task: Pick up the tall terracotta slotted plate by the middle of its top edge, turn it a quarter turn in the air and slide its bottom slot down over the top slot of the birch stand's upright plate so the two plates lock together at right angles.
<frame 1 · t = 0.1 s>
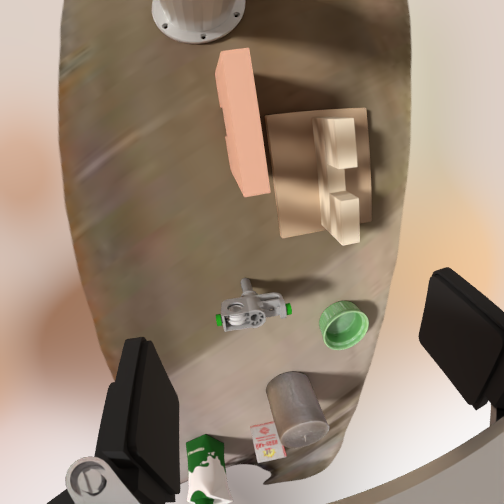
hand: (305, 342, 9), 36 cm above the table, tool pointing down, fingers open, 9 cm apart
slotted plate: (231, 120, 40), on the table
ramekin: (337, 316, 57), on the table
slotted stand: (321, 169, 45), on the table
white cardboard box: (264, 426, 69), on the table
mechanical component: (245, 281, 51), on the table
pillar candle: (288, 385, 63), on the table
milk carton: (205, 442, 69), on the table
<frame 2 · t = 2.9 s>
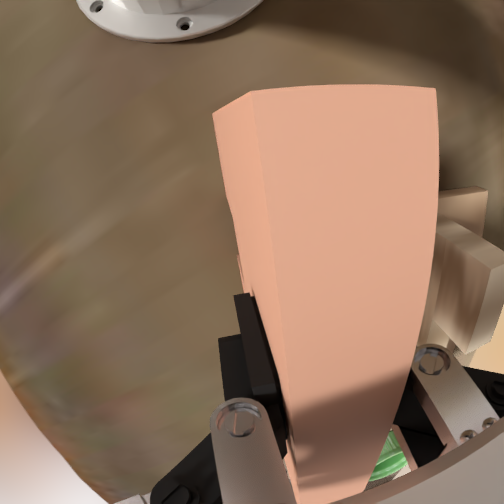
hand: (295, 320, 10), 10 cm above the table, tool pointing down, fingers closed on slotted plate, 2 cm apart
slotted plate: (251, 222, 20), on the table, touching gripper
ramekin: (379, 443, 37), on the table
slotted stand: (404, 297, 24), on the table
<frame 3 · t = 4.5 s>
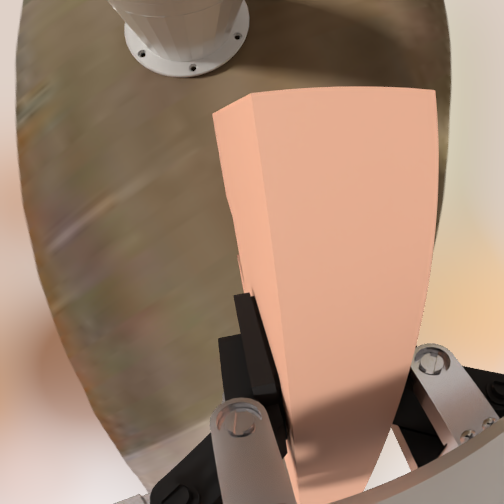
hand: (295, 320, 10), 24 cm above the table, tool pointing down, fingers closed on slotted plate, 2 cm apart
slotted plate: (251, 222, 20), point 14 cm above the table, touching gripper
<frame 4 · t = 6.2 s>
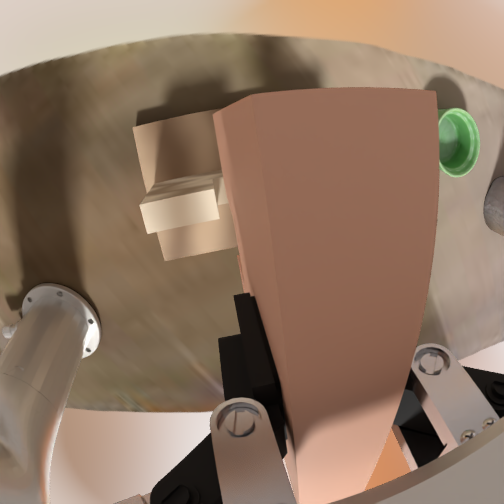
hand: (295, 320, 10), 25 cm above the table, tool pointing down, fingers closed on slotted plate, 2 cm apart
slotted plate: (251, 222, 20), point 15 cm above the table, touching gripper
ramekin: (437, 137, 35), on the table
slotted stand: (231, 176, 33), on the table
pillar candle: (498, 201, 40), on the table
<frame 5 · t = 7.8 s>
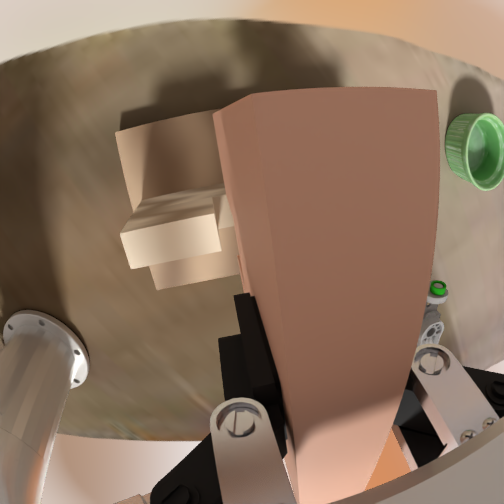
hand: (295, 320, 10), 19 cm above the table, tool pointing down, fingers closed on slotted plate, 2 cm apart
slotted plate: (251, 222, 20), point 9 cm above the table, touching gripper
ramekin: (464, 145, 29), on the table
slotted stand: (234, 191, 28), on the table
mechanical component: (385, 284, 35), on the table
when the fingers open (12 cm above the table, at t = 9.4 s): slotted plate stays where it is, resting on slotted stand.
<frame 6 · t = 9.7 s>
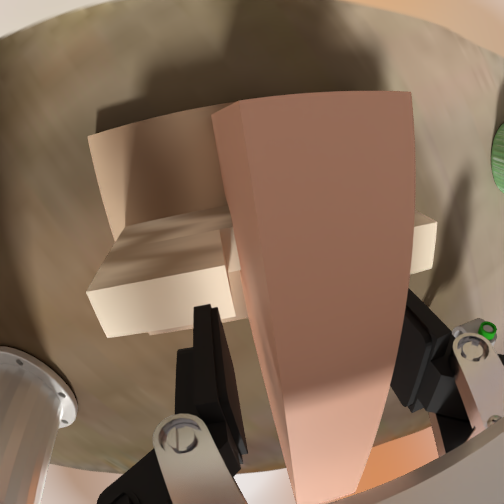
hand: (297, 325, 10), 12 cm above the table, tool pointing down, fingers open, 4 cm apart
slotted plate: (249, 220, 20), point 1 cm above the table, touching slotted stand
slotted stand: (247, 212, 21), on the table
mechanical component: (418, 316, 29), on the table
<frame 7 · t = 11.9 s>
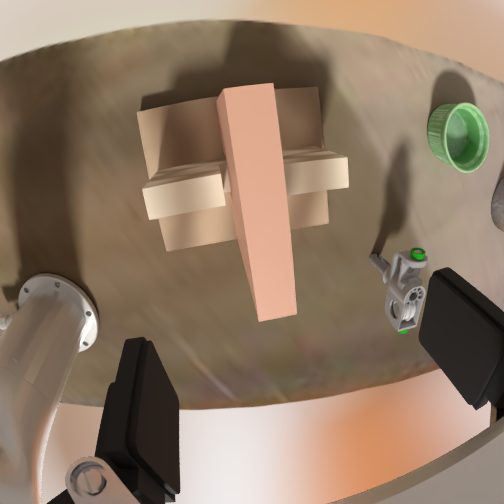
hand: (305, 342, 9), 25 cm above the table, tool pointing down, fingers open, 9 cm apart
slotted plate: (238, 168, 30), point 1 cm above the table, touching slotted stand
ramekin: (446, 132, 33), on the table
slotted stand: (237, 165, 32), on the table
mechanical component: (373, 257, 39), on the table
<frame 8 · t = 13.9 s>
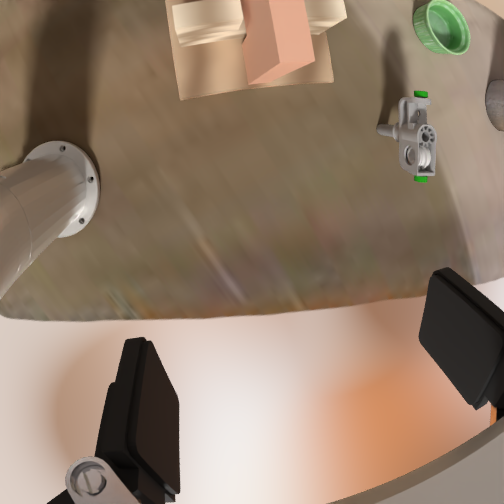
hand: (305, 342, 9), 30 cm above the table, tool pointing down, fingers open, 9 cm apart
slotted plate: (250, 28, 28), point 1 cm above the table, touching slotted stand
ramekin: (431, 29, 31), on the table
slotted stand: (248, 31, 30), on the table
mechanical component: (380, 129, 37), on the table
pillar candle: (498, 104, 37), on the table
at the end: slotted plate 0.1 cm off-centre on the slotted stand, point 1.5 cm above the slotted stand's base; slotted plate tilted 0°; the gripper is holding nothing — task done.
